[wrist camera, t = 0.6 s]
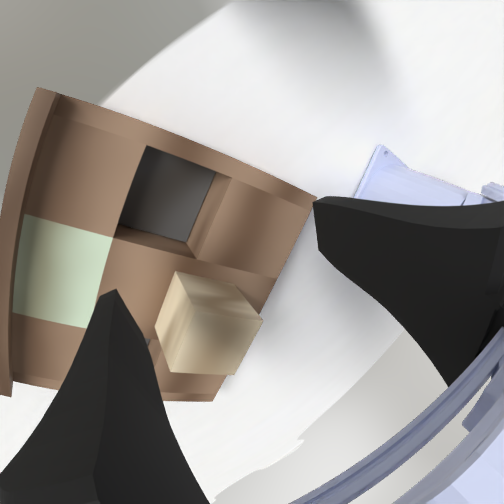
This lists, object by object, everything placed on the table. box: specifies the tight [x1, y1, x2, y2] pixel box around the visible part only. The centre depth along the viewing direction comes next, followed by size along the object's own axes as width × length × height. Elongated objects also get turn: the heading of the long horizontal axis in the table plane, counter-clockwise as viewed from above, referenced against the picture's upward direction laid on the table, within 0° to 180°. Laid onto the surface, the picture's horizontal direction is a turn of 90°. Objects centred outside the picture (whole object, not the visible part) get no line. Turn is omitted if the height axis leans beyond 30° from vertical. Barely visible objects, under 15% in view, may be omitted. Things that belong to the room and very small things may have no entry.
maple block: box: [155, 271, 263, 375], centre depth 18 cm, size 4×4×4 cm
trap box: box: [0, 87, 317, 402], centre depth 18 cm, size 17×18×4 cm
